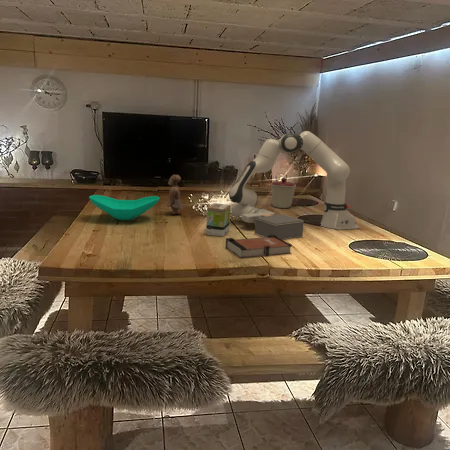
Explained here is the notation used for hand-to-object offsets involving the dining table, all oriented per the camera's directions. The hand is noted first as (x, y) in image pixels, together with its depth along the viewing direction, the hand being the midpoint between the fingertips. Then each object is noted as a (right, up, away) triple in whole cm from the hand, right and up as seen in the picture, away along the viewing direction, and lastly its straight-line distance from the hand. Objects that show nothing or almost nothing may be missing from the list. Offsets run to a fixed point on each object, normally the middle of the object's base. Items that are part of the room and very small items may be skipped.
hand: (267, 219), depth 242 cm
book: (-8, -16, -36) cm, 40 cm away
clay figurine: (-55, +4, +33) cm, 64 cm away
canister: (+17, +10, +73) cm, 76 cm away
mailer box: (+5, -8, -6) cm, 12 cm away
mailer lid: (+5, 0, -7) cm, 8 cm away
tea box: (-27, -7, -6) cm, 29 cm away
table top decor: (-82, 0, +13) cm, 83 cm away
